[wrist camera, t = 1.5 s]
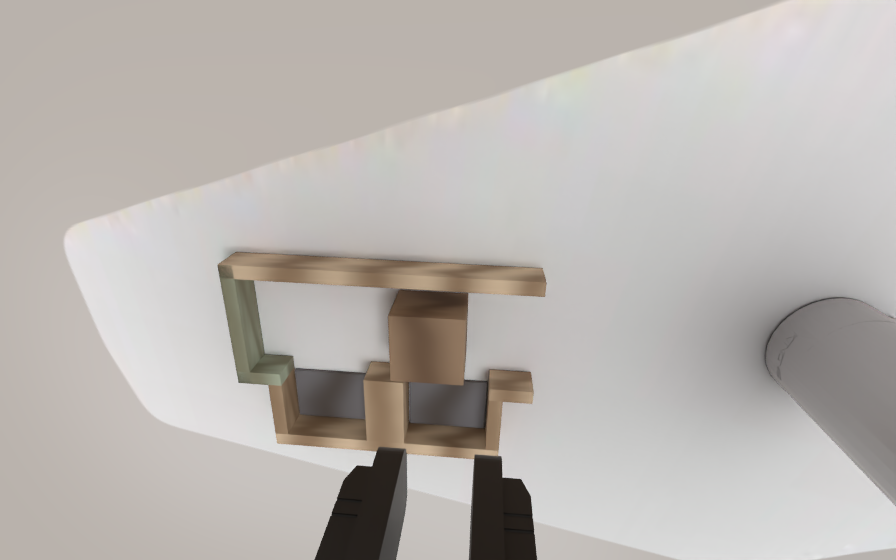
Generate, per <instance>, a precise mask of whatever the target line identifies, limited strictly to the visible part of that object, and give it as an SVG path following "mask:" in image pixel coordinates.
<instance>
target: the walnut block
mask: <svg viewBox="0 0 896 560" xmlns="http://www.w3.org/2000/svg"><path fill="white" fill-rule="evenodd" d="M467 316H468V293H451V292H431V291H411V290H399V292H398V294H397V296H396V299H395V301H394V303H393V306H392V308H391V310H390V313H389V315H388V328H389V355H390V381H401V382H417V383H432V384H448V385H463V384H464V372H465V360H466V341H467Z"/></svg>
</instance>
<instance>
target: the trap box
mask: <svg viewBox="0 0 896 560" xmlns="http://www.w3.org/2000/svg"><path fill="white" fill-rule="evenodd" d="M218 271H219V276H220V282H221V287H222V293H223V298H224V304H225V309H226V315H227V320H228V326H229V332H230V337H231V343H232V348H233V354H234V359H235V365H236V370H237V376H238V381H239V383H249V384H263V385H269V392H270V399H271V405H272V412H273V419H274V425H275V432H276V438H277V443H279V444H291V445H304V446H316V447H329V448H341V449H354V450H366V451H377V450H378V448H379V447H391V448H403V449H406V452H407V454H416V455H429V456H441V457H454V458H466V459H474V455H475V454H478V455H490V456H498V449H499V438H500V426H501V415H502V403H503V402H514V403H528V404H532V402H533V393H534V391H533V384H532V377H531V372H519V371H505V370H490V371H489V385H488V399H487V413H486V427H485V428H484V421H485V406H486V392H487V382H485V381H470V380H464V384H463V385H448V384H432V383H417V382H410V422H409V382H401V381H390V363H386V362H371V364H370V366H369V368H368V371H367V373H354V372H340V371H326V370H311V369H297V368H296V369H294V361H293V356H282V355H267V354H265V353H264V347H263V340H262V333H261V327H260V320H259V313H258V307H257V300H256V293H255V287H254V280H257V281H275V282H293V283H310V284H328V285H345V286H363V287H381V288H398V289H416V290H433V291H451V292H469V293H486V294H504V295H521V296H539V297H545V292H546V279H545V275H544V272H543V268H526V267H507V266H488V265H470V264H451V263H432V262H413V261H394V260H375V259H356V258H337V257H318V256H300V255H281V254H262V253H243V252H235V253H234V254H232V255H231V256H229V257H228V258H227V259H225V260H224V261H222V262H221V263H219V264H218ZM295 376H296V377H295ZM296 384H297V385H296ZM297 392H298V393H297ZM299 409H300V410H299Z"/></svg>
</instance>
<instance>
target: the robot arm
mask: <svg viewBox="0 0 896 560" xmlns="http://www.w3.org/2000/svg"><path fill="white" fill-rule="evenodd" d="M766 364H767V367H768V370H769V372H770V374H771V375H772V377H773V378H774V379H775V381H776V382H777V383H778V384H779V385H780V386H781V387H782V388H783V389H784V390H785V391H786V392H787V393H788V394H789V395H790V396H791V397H792V398H793V399H794V400H795V401H796V402H797V404H798V405H799V406H800V407H801V408H802V409H803V410H804V411H805V412H806V413H807V414H808V415H809V416H810V417H811V418H812V419H813V420H814V422H815V423H816V424H817V425H818V426H819V427H820V428H821V429H822V430H823V431H824V432H825V433H826V434H827V435H828V436H829V437H830V438H831V439H832V440H833V441H834V442H835V443H836V444H837V445H838V447H839V448H840V449H841V450H842V451H843V452H844V453H845V454H846V455H847V456H848V457H849V458H850V459H851V460H852V461H853V462H854V463H855V464H856V465H857V466H858V467H859V468H860V469H861V470H862V471H863V473H864V474H865V475H866V476H867V477H868V478H869V479H870V480H871V481H872V482H873V483H874V484H875V485H876V486H877V487H878V488H879V489H880V490H881V491H882V492H883V493H884V494H885V495H886V496H887V498H888V499H889V500H890V501H891V502H892V503H893V504H894V505H895V506H896V318H890V317H889V316H887V315H885V314H884V313H882V312H880V311H878V310H877V309H875V308H873V307H871V306H870V305H868V304H866V303H864V302H861V301H858V300H854V299H846V298H835V299H826V300H822V301H819V302H815V303H812V304H810V305H807V306H805V307H803V308H801V309H799V310H798V311H796V312H795V313H793V314H792V315H790V316H789V317H788V318H786V319H785V320H784V321H783V322H782V323H781V324H780V325H779V326H778V328H777V329H776V330H775V332H774V333H773V334H772V336H771V339H770V341H769V343H768V346H767V350H766ZM406 500H407V452H406V449H403V448H391V447H379V448H378V450H377V453H376V456H375V459H374V462H373V466H372V467H369V466H356V467H355V468H354V469H353V471H352V472H351V473H350V474H349V475H348V476H347V477H346V478H345V480H344V481H343V484H342V486H341V489H340V492H339V495H338V497H337V501H336V503H335V506H334V508H333V511H332V516H330V519H329V522H328V525H327V527H326V530H325V533H324V536H323V538H322V541H321V544H320V547H319V550H318V552H317V555H316V557H315V560H396V557H397V551H398V546H399V541H400V536H401V531H402V526H403V521H404V516H405V508H406ZM469 560H537V556H536V546H535V535H534V525H533V519H532V505H531V496H530V494H529V492H528V491H527V489H526V487H525V485H524V484H523V482H522V480H521V479H513V478H502V458H501V456H490V455H478V454H475V455H474V471H473V487H472V504H471V526H470V549H469Z"/></svg>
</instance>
